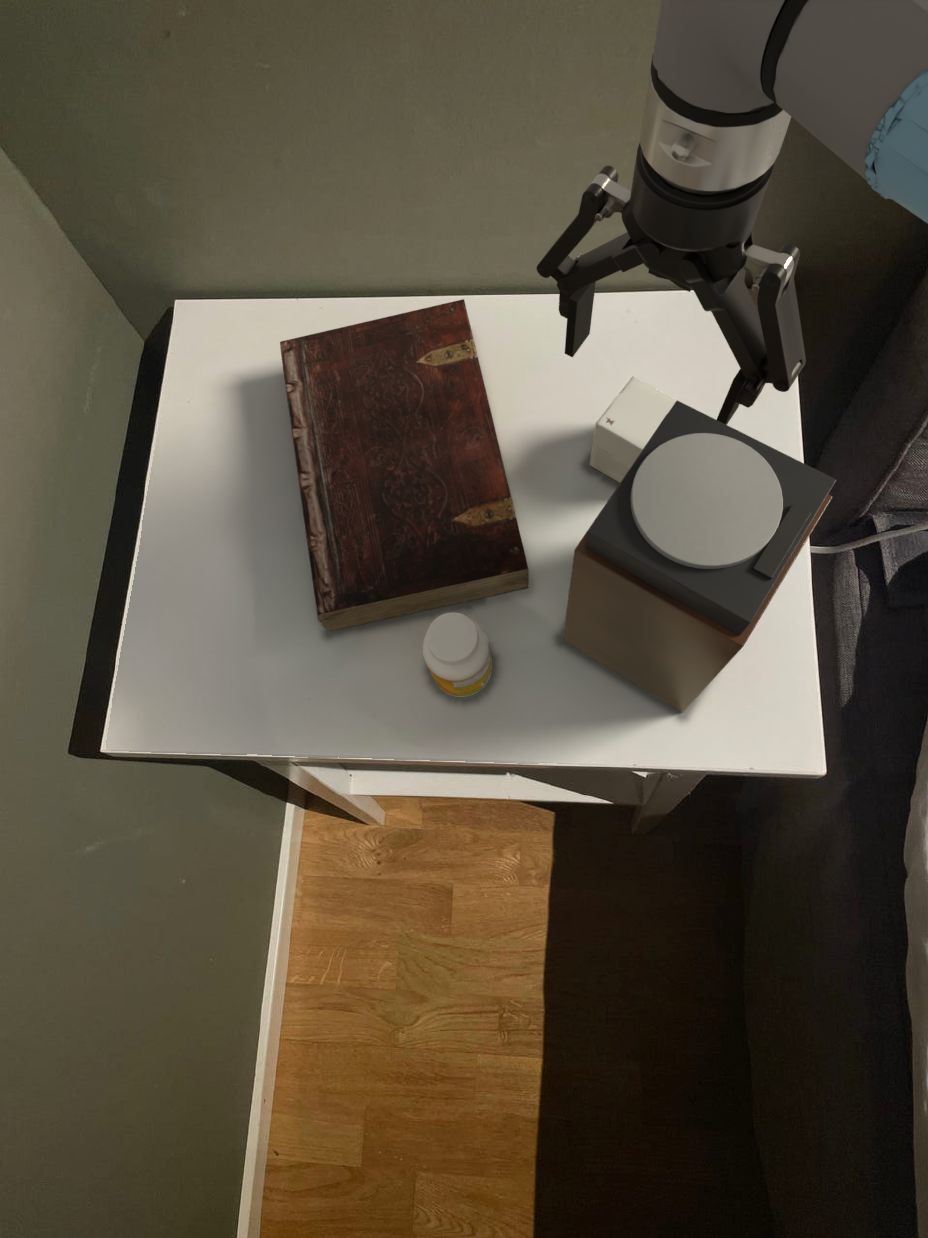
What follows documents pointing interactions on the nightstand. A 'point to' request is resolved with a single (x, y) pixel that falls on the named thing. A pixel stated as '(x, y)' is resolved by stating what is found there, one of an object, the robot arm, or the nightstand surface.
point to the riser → (651, 627)
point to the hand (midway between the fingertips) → (649, 380)
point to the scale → (709, 516)
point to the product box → (628, 427)
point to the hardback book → (399, 468)
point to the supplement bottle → (457, 654)
